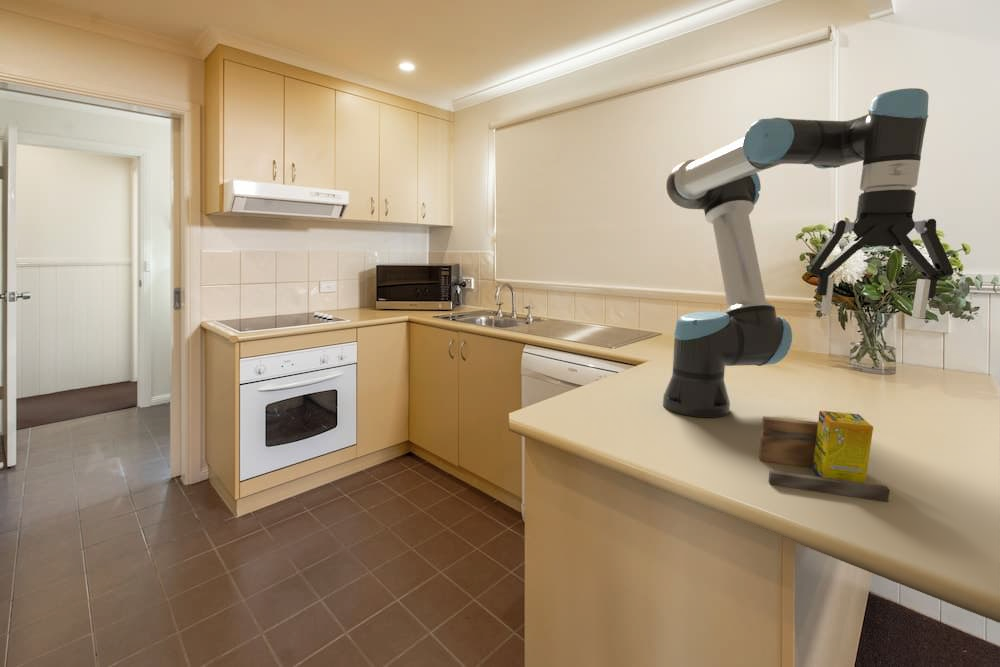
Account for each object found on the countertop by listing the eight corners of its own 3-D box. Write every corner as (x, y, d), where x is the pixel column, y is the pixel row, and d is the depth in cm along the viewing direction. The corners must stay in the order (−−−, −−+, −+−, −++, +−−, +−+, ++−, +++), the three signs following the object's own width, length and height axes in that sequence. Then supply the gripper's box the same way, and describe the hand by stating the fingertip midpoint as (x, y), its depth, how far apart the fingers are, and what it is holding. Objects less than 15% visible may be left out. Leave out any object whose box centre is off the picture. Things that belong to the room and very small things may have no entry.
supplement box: (811, 469, 84) (818, 409, 82) (851, 474, 82) (859, 413, 80) (821, 484, 78) (829, 421, 77) (865, 490, 76) (874, 425, 75)
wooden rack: (769, 484, 78) (774, 438, 77) (758, 457, 89) (762, 416, 87) (887, 501, 73) (895, 452, 72) (861, 471, 83) (867, 427, 82)
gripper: (807, 190, 81) (793, 314, 84) (996, 184, 73) (973, 322, 76) (796, 195, 88) (784, 310, 91) (968, 190, 79) (948, 316, 83)
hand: (870, 316), depth 84 cm, fingers open, 13 cm apart
